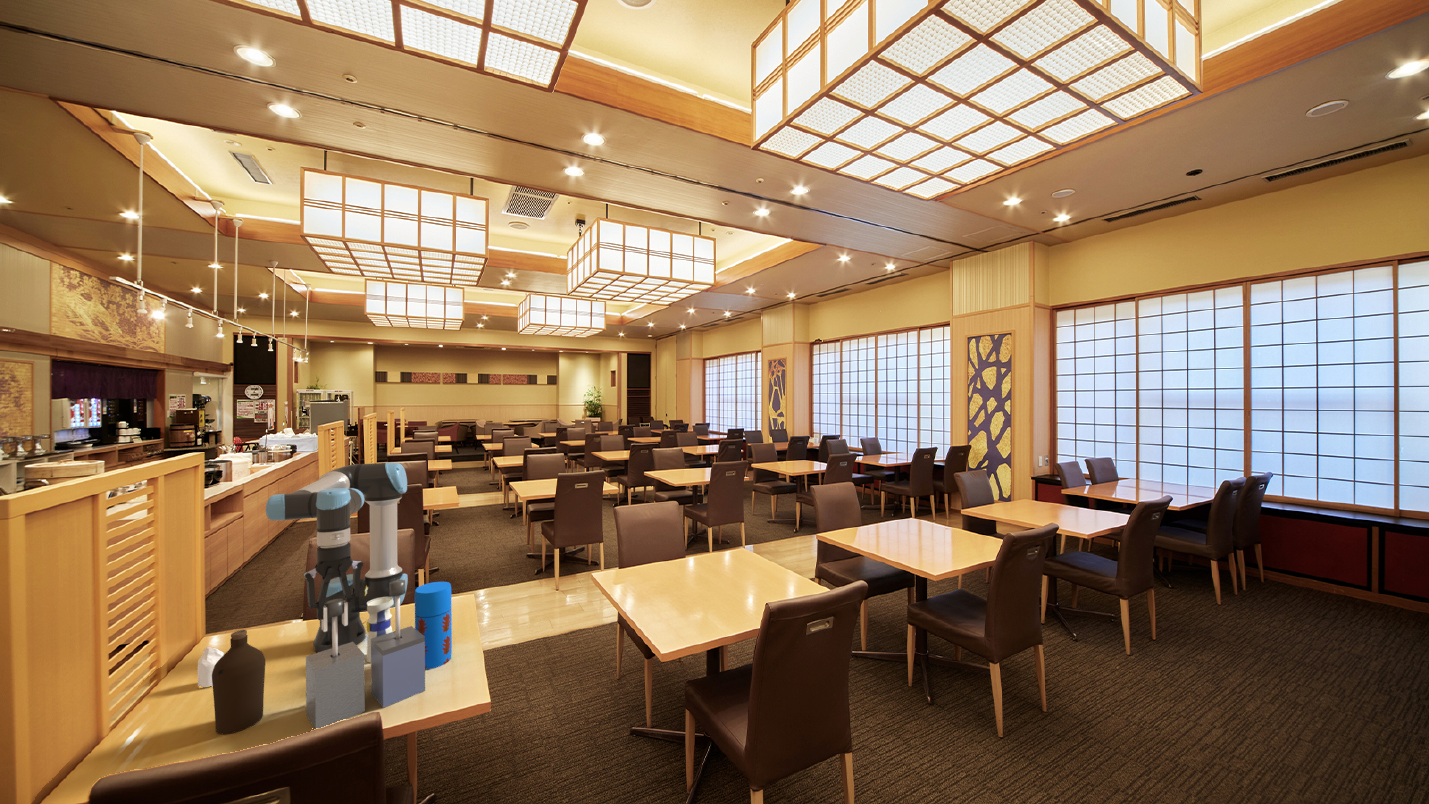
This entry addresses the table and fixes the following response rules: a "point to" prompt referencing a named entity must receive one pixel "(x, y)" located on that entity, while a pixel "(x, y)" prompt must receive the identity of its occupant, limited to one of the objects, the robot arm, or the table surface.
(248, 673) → the olive oil
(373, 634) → the water bottle
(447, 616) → the thermos
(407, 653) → the indigo press
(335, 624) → the steel plunger
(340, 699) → the block
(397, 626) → the gray knob plunger
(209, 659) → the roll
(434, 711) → the table surface
